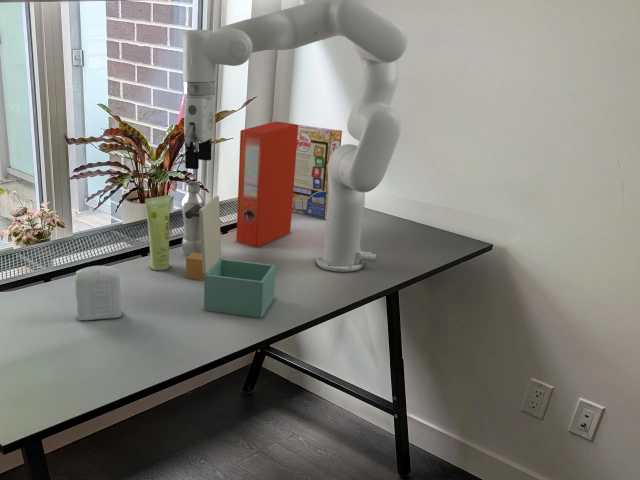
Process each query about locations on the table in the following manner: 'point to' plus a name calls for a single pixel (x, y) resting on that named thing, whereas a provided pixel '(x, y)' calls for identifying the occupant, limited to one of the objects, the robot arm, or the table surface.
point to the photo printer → (98, 293)
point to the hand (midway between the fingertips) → (198, 164)
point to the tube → (158, 231)
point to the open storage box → (239, 287)
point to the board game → (313, 169)
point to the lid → (208, 231)
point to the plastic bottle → (191, 220)
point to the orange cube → (194, 266)
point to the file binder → (266, 182)
